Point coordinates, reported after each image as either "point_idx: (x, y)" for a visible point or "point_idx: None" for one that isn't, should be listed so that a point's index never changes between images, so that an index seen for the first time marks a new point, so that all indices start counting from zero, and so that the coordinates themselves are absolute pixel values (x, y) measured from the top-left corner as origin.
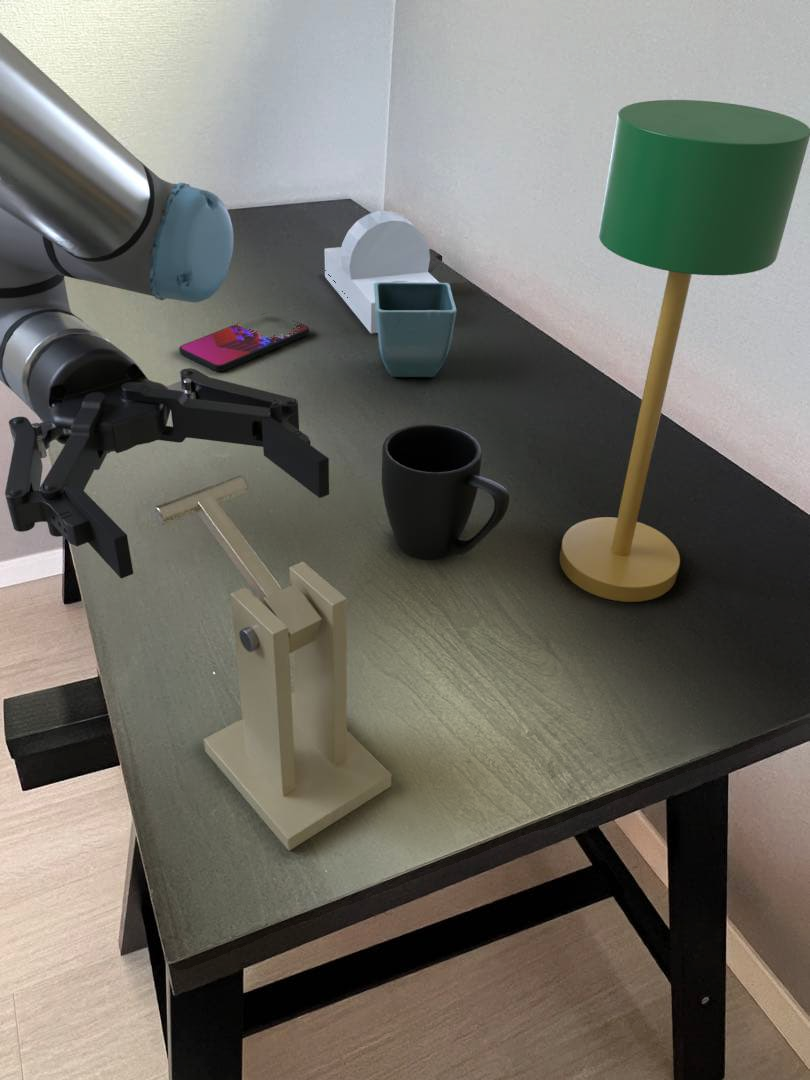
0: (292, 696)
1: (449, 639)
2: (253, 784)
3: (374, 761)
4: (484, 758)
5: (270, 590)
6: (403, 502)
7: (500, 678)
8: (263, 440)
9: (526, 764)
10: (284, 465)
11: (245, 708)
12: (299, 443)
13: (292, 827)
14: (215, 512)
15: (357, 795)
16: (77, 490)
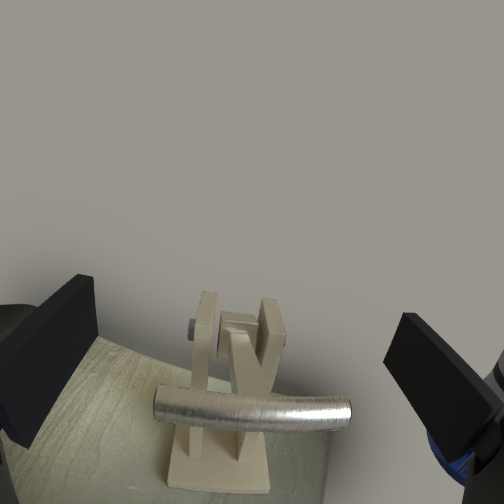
0: (181, 480)
1: (41, 432)
2: (258, 441)
3: None
4: (125, 382)
5: (241, 336)
6: None
7: (60, 396)
8: (14, 421)
9: (115, 367)
10: (56, 384)
11: None
12: (55, 303)
13: None
14: (251, 380)
15: None
16: (484, 392)
